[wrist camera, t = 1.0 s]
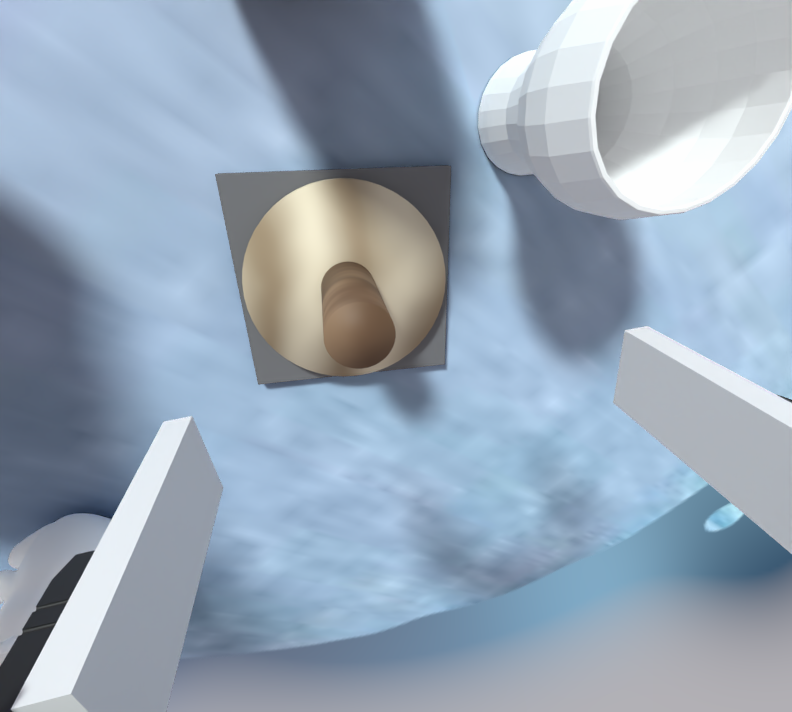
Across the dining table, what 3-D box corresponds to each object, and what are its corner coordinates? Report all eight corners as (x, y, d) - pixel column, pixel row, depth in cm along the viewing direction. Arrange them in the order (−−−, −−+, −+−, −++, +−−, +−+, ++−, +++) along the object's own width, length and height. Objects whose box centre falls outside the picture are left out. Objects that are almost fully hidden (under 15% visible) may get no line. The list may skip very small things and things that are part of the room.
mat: (259, 378, 35) (258, 384, 34) (218, 173, 28) (215, 174, 27) (441, 359, 37) (444, 364, 37) (447, 165, 30) (451, 165, 29)
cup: (620, 124, 31) (847, 107, 18) (509, 224, 33) (640, 275, 20) (552, -19, 26) (790, -185, 13) (427, 107, 28) (527, 72, 15)
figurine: (113, 478, 37) (33, 610, 26) (182, 541, 42) (137, 674, 31) (16, 524, 37) (-101, 671, 27) (95, 581, 42) (22, 726, 31)
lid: (263, 378, 34) (245, 460, 25) (224, 182, 27) (181, 198, 18) (439, 360, 36) (480, 429, 27) (443, 173, 29) (501, 184, 20)
